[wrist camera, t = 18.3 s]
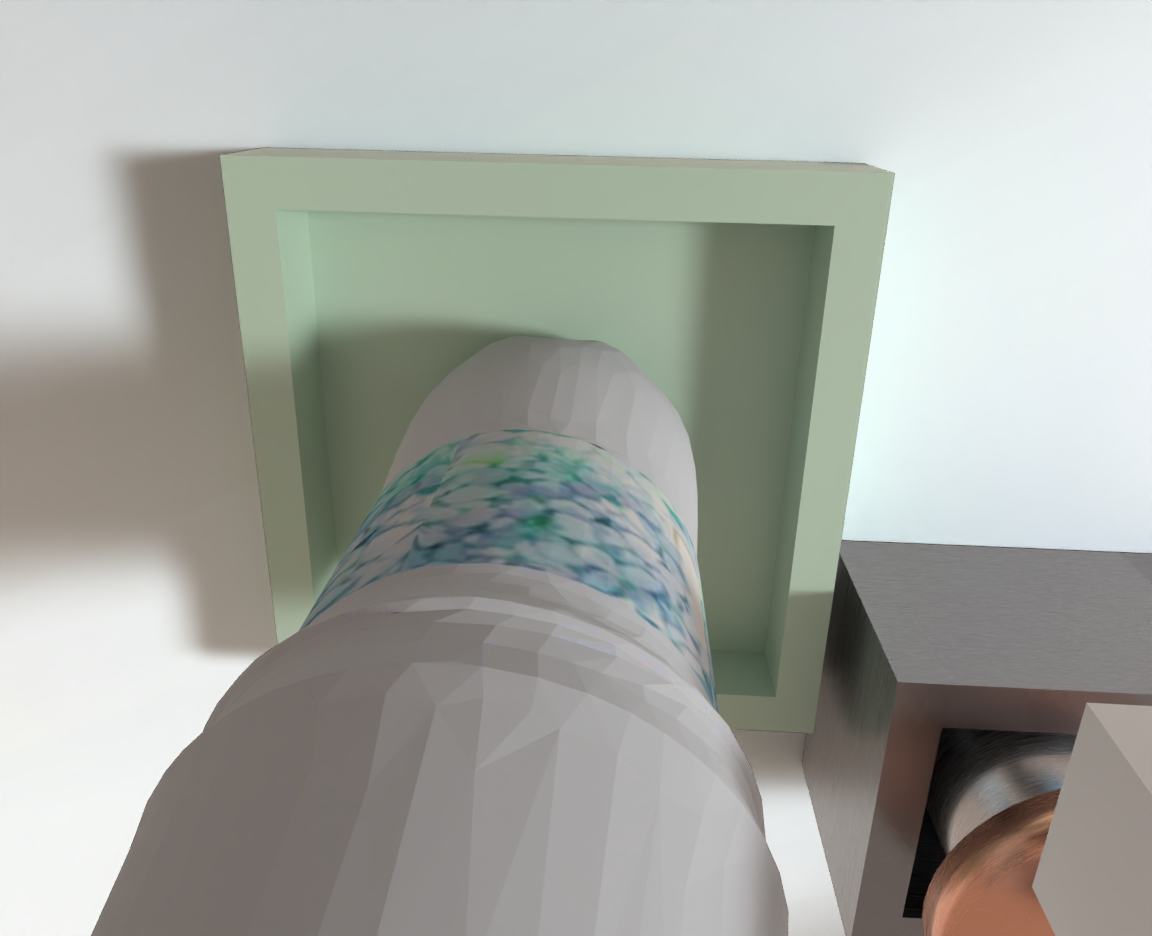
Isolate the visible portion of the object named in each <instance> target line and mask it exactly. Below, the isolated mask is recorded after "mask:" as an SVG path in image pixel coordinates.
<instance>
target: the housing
mask: <svg viewBox="0 0 1152 936" xmlns="http://www.w3.org/2000/svg"><path fill="white" fill-rule="evenodd" d="M1086 703H1104V704H1123V705H1141V706H1152V554H1141V553H1118V552H1095V551H1072V550H1048V549H1025V548H1002V547H978V546H955V545H932V544H909V543H885V542H862V541H841V546H840V553H839V560H838V566H837V573H836V580H835V587H834V594H833V601H832V608H831V614H830V621H829V628H828V635H827V642H826V649H825V655H824V662H823V669H822V676H821V683H820V690H819V697H818V703H817V710H816V717H815V724H814V731H813V733H806V740H805V747H804V754H803V761H802V766H803V770H804V774H805V778H806V782H807V786H808V790H809V794H810V798H811V801H812V805H813V809H814V813H815V817H816V821H817V825H818V829H819V833H820V837H821V841H822V845H823V848H824V852H825V856H826V860H827V864H828V868H829V872H830V876H831V880H832V884H833V888H834V892H835V896H836V899H837V903H838V907H839V911H840V915H841V919H842V923H843V927H844V931H845V935H846V936H923V931H922V912H923V904H924V900H925V896H926V893H927V890H928V887H929V884H930V882H931V880H932V878H933V876H934V874H935V872H936V870H937V869H938V868H939V866H940V865H941V863H942V862H943V860H944V859H945V857H946V854H945V852H944V849H943V847H942V845H941V842H940V840H939V837H938V835H937V832H936V830H935V828H934V825H933V823H932V820H931V818H930V815H929V813H928V811H927V808H926V802H927V797H928V792H929V787H930V783H931V778H932V773H933V768H934V764H935V759H936V754H937V749H938V745H939V740H940V735H941V730H942V728H960V729H980V730H1000V731H1019V732H1039V733H1059V734H1078V730H1079V727H1080V723H1081V720H1082V717H1083V713H1084V710H1085V707H1086Z"/></svg>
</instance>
